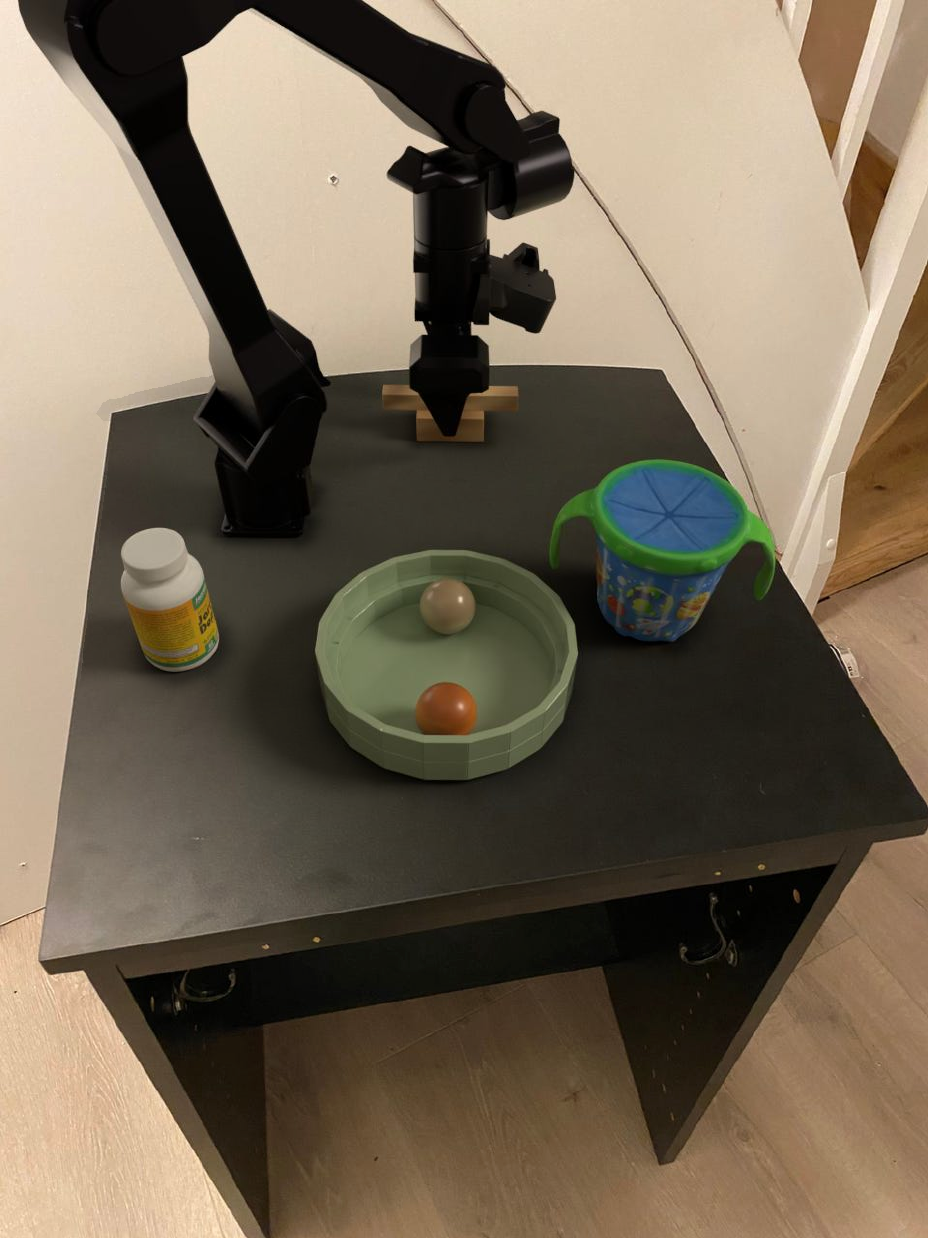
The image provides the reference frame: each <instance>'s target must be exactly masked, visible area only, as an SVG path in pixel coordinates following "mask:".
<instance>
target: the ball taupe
mask: <svg viewBox="0 0 928 1238" xmlns="http://www.w3.org/2000/svg"><path fill="white" fill-rule="evenodd" d="M475 608H476V605H475V599H474V596H473V594H472V592H471V590H470V589H469V588H468V587H467V586H466V585H465V584H464V583H462V582H460V581H458V580H456V579H451V578H444V579H440V580H437V581H435V582H433V583H431V584H430V585H429V586H428V587H427V588H426V589H425V591H424V592H423V594H422V596H421V599H420V613H421V616H422V619H423V621H424V622H425V623H426V625H427V626H428V627H429V628H431V629H432V630H433V631H435V632H438V633H441V634H454V633H458V632H460V631H462V630H463V629H465V628H466V627H467V626H468V625H469V624H470V622H471V621H472V619H473V617H474V614H475Z"/></svg>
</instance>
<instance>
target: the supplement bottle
mask: <svg viewBox="0 0 928 1238" xmlns="http://www.w3.org/2000/svg"><path fill="white" fill-rule="evenodd" d="M120 558H121V561H122V564H123V568H124V570H123V573H122V575H121V579H120V589H121V590H120V591H121V593H122V596H123V600H124V602H125V605H126V607H127V610H128V613H129V615H130V618H131V621H132V624H133V627H134V630H135V633H136V636H137V639H138V641H139V644H140V648H141V650H142V652H143V655H144V657H145V659H146V660H147V661H148V662H149V663H150V664H152V665H153V666H154V667H156V668H158V669H160V670H162V671H166V672H173V673H175V672H176V673H177V672H185V671H190V670H192V669H195V668H198V667H199V666H201V665H203V664H204V663H206V662H207V661H208V660H209V659H211V657H212V656H213V655H214V653H215V652H216V651H217V649H218V647H219V641H220V633H219V628H218V625H217V621H216V617H215V613H214V609H213V606H212V602H211V598H210V594H209V590H208V586H207V583H206V582H207V581H206V579H205V574H204V571H203V568H202V565H201V564H200V562H199V561H198V560H197V559H196V558H195V557H194V556H193V555H192V554H190V553H189V552H188V549H187V546H186V543H185V540H184V538H183V537H182V535H181V534H180V533H178V532H177V531H176V530H174V529H170V528H165V527H151V528H147V529H144V530H141V531H138V532H136V533H135V534H133V535H131V536H130V537H129V538H128V539H127V540H126V541H125V542H124V543H123V545H122V546H121V550H120Z"/></svg>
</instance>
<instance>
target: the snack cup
mask: <svg viewBox="0 0 928 1238" xmlns="http://www.w3.org/2000/svg"><path fill="white" fill-rule="evenodd" d="M579 517H580V518H581V517H583V518H586V519H587V520H589V521H590V522H591V523H592V525H593V527H594V530H595V532H596V535H595V537H596V538H595V543H596V546H595V548H596V549H595V550H596V551H595V552H596V554H595V555H596V557H595V559H596V583H597V585H596V586H597V589H596V590H597V591H596V595H597V598H596V599H597V604H598V606H599V609H600V612H601V614H602V617H603V618H604V619H605V621H606V622H607V623H608V624H609V625H611V626H612V627H613V629H614V630H615V632H616V633H618V634H619V635H621V636H623V637H631V638H634V639H636V640H638V641H641V642H660V641H661V642H668V643H669V642H671V643H673V642H675V641H676V640H677V639H679V637H681V636H683V635H684V634H686V633H687V632H689V631H690V630H691V629H692V628H693V627H694V626H695V625H696V624H697V622H698V621H699V620H700V618H701V616H702V613H703V611H704V610H705V608H706V606H707V604H708V602H709V600H710V598H711V596H712V595H713V593H714V592H715V590H716V588H717V584H718V583H719V582H720V579H721V578H722V576H723V573H724V572H725V570H726V568H727V566H728V565H730V562H731V561H732V560H733V559H734V558H735V557H736V555H737V554H738V553H739V552H740V550H741V548H743V547H744V546H745V545H746V544H749V543H757V544H759V545H760V547H761V550H762V551H763V554H764V556H765V557H766V559H765V561H764V563H763V566H762V567H761V569H760V570H759V571H758V573H757V574H756V578H755V580H754V585H753V598H754V600H756V601H758V602H759V601H760V602H761V601H762V600H763V598H764V597H765V596H766V595H767V594H768V591H769V589H770V587H771V585H772V583H773V580H774V576H775V570H776V569H775V568H776V546H775V541H774V538H773V535H772V533H771V530H770V529H769V527H768V525H767V524H766V523H765V522H764V521H763V520H762V519H761V517H759V516H758V515H756V514H755V513H754V512H752V511H751V510H749V508H748V505H747V503H746V501H745V498H744V497H743V496H742V495H741V493H740V492H739V491H738V490H737V488H735V487H734V486H733V484H731V483H730V482H728V481H727V480H726V479H724V478H722V476H719V475H718V474H716V473H714V472H712V471H710V470H707V469H706V468H703V467H701V466H698V465H695V464H691V463H689V462H684V461H678V460H670V459H645V460H639V461H635V462H631V463H628V464H624V465H622V466H619V467H617V468H615V469H613V470H612V471H610V472H609V473H608V474H606V475H605V476H604V477H603V479H602V480H601V481H600V482H599V483H598V484H597V486H595V487H593V488H592V489H591V488H590V489H588V490H585V491H583V492H581V493H578V494H577V495H575V496H573V497H572V498H571V499H569V500H568V501H567V502H566V503H565V504H564V505H563V506H562V507H561V509H560V511H559V512H558V513H557V516H556V518H555V520H554V522H553V527H552V533H551V537H550V543H549V552H548V553H549V554H548V555H549V564H550V568H551V569H552V570H554V571H555V570H557V569H558V568H559V566H560V559H561V538H562V534H563V527H564V524H565V523H567V522H569V521H571V520H573V519H576V518H579Z"/></svg>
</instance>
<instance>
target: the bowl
mask: <svg viewBox="0 0 928 1238" xmlns="http://www.w3.org/2000/svg"><path fill="white" fill-rule="evenodd" d="M444 578H451V579H456V580H458V581H460V582H462V583H464V584H465V585H466V586H467V587H468V588H469V589H470V590H471V592H472V594H473V596H474V599H475V605H476V608H475V614H474V617H473V619H472V621H471V622H470V624H469V625H468V626H467V627H466V628H465V629H463V630H462V631H460V632H458V633H454V634H441V633H438V632H435V631H433V630H432V629H431V628H429V627H428V626H427V625H426V623H425V622H424V621H423V619H422V616H421V613H420V599H421V596H422V594H423V592H424V591H425V589H426V588H427V587H428V586H429V585H430V584H431V583H433V582H435V581H437V580H440V579H444ZM577 641H578V640H577V633H576V624H575V622H574V620H573V618H572V617H571V614H570V613H569V611H568V610H567V608H566V606H565V604H564V602H563V600H562V598H561V597H560V596H559V594H557V593H556V592H555V591H554V590H553V589H552V588H551V587H550V586H549V585H547V584H546V582H544V581H543V580H542V579H541V578H540V577H538V576H537V574H535V573H533V572H532V571H529V570H527V569H525V568H523V567H522V566H520V565H517V564H515V563H514V562H511V561H509V560H507V559H505V558H502V557H498V556H494V555H490V554H485V553H480V552H477V551H473V550H467V549H427V550H423V551H417V552H413V553H408V554H407V553H406V554H403V555H398V556H394V557H391V558H388V559H387V560H385V561H383V562H381V563H379V564H378V563H377V564H376V565H374V566H371V567H369V568H367V569H365V570H363V571H361V572H359V574H357V575H356V576H355V577H354V578H352V579H351V580H350V581H349V582H348V583H347V584H346V585H344V586H343V587H342V588H341V589H340V590H338V591H337V592H336V593H335V594H334V596H333V598H332V599H331V601H330V603H329V605H328V606H327V608H326V609H325V611H324V612H323V615H322V616H321V618H320V620H319V622H318V628H317V636H316V642H315V649H314V655H315V660H316V668H317V674H318V680H319V686H320V692H321V696H322V700H323V702H324V706H325V710H326V713H327V717H328V720H329V722H330V723H331V724H332V726H333V727H334V728H335V729H336V731H337V732H338V733H339V734H340V736H341V737H342V738H343V739H344V741H345V743H347V744H348V746H349V747H350V748H351V749H353V750H354V751H356V752H357V753H359V754H361V755H362V756H364V757H365V758H366V759H368V760H370V761H371V762H373V763H375V764H376V765H378V766H379V767H380V768H382V769H385V770H388V771H391V772H394V773H395V772H396V773H398V774H402V775H405V776H406V775H407V776H409V777H413V778H416V779H420V780H424V781H468V780H473V779H476V778H480V777H485V776H487V775H491V774H495V773H499V772H502V771H506V770H508V769H511V768H512V767H513V766H515V765H517V764H518V763H520V762H522V761H523V760H525V759H526V758H528V757H529V756H531V755H533V754H535V753H536V752H538V751H539V750H540V749H542V748H543V747H544V745H545V744H546V743H547V742H548V740H549V739H550V738H551V737H552V736H553V734H554V733H555V732H556V730H558V728H559V727H560V726H561V724H562V723H563V722H564V719H565V716H566V713H567V710H568V707H569V704H570V701H571V697H572V693H573V689H574V682H575V676H576V671H577V670H576V669H577V663H578V656H579V651H578V650H579V649H578V642H577ZM441 682H452V683H456V684H458V685H460V686H462V687H464V688H465V689H466V690H467V691H468V692H469V693H470V694H471V695H472V697H473V698H474V701H475V703H476V707H477V720H476V723H475V726H474V728H473V730H472V731H471V732H470V734H469V735H423V734H422V732H421V731H420V729H419V728H418V725H417V723H416V718H415V708H416V704H417V701H418V699H419V697H420V696H421V694H422V693H423V692H424V691H425V690H426V689H427V688H429V687H430V686H432V685H434V684H437V683H441Z"/></svg>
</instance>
